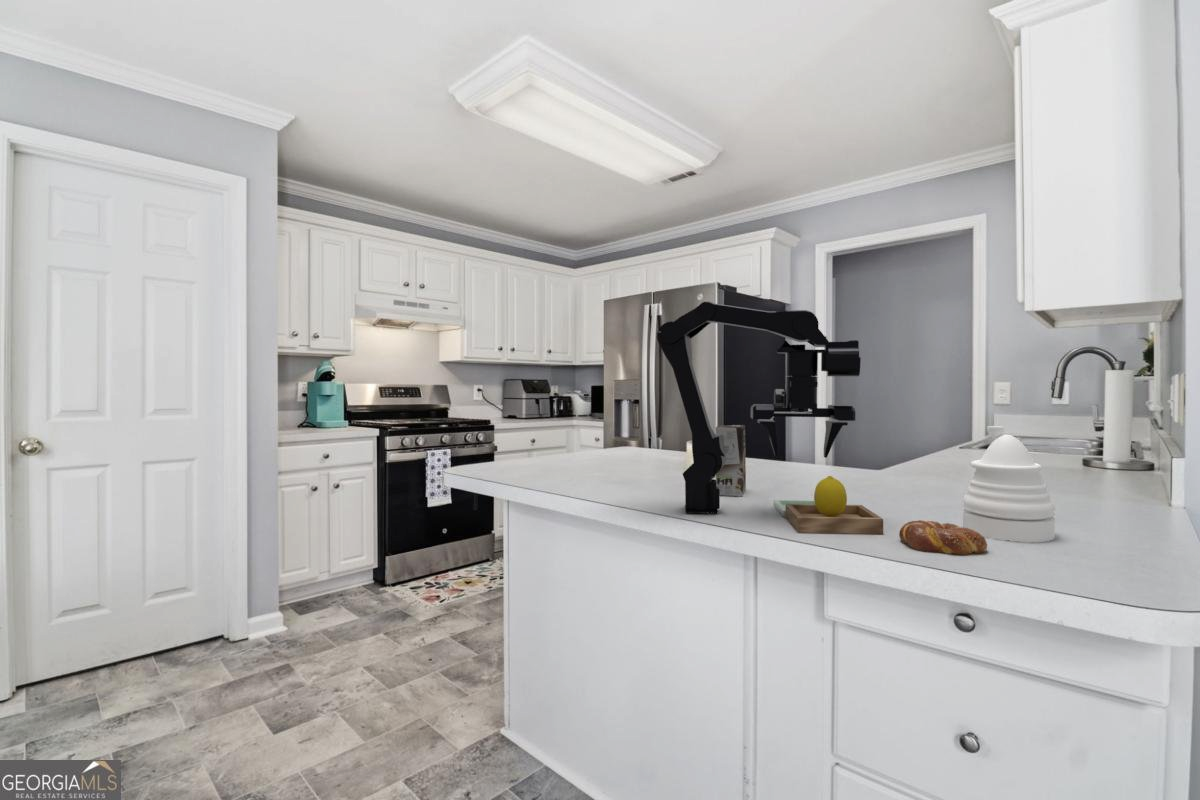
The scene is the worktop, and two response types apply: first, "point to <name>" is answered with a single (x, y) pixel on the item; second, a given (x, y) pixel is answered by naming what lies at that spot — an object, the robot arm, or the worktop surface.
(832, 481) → the lemon
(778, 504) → the dish
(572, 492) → the worktop surface
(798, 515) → the tray
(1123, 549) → the worktop surface
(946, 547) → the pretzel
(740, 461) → the coffee box
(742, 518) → the worktop surface
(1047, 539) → the honey pot
